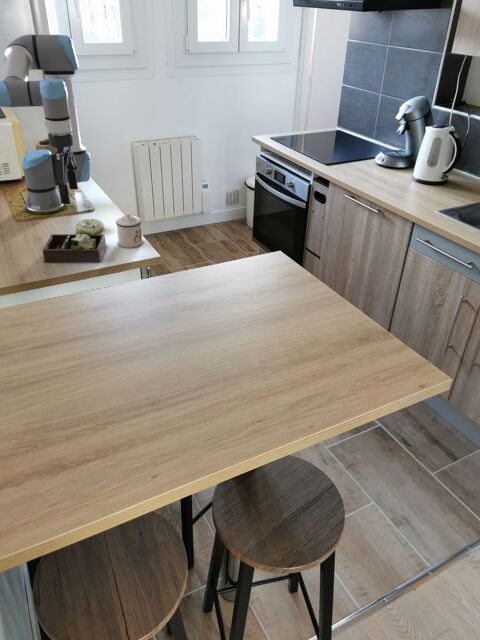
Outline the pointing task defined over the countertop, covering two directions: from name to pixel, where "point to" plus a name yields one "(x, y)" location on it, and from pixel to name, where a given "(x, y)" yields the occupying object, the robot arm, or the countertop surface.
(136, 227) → the teacup with lid
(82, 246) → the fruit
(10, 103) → the robot arm
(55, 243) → the caddy
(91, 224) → the decorated donut
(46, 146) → the stone cup
